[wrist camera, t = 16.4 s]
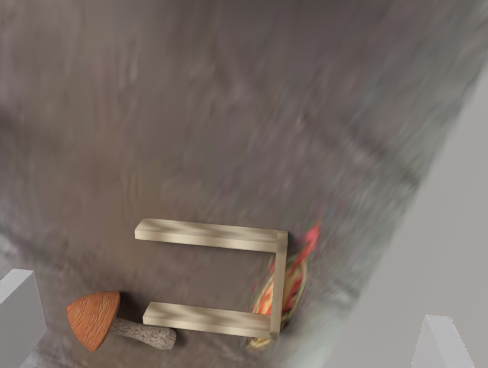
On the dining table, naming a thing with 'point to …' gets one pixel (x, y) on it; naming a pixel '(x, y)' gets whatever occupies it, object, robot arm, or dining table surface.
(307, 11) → the dining table surface
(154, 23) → the dining table surface
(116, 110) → the dining table surface
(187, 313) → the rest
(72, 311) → the mushroom
